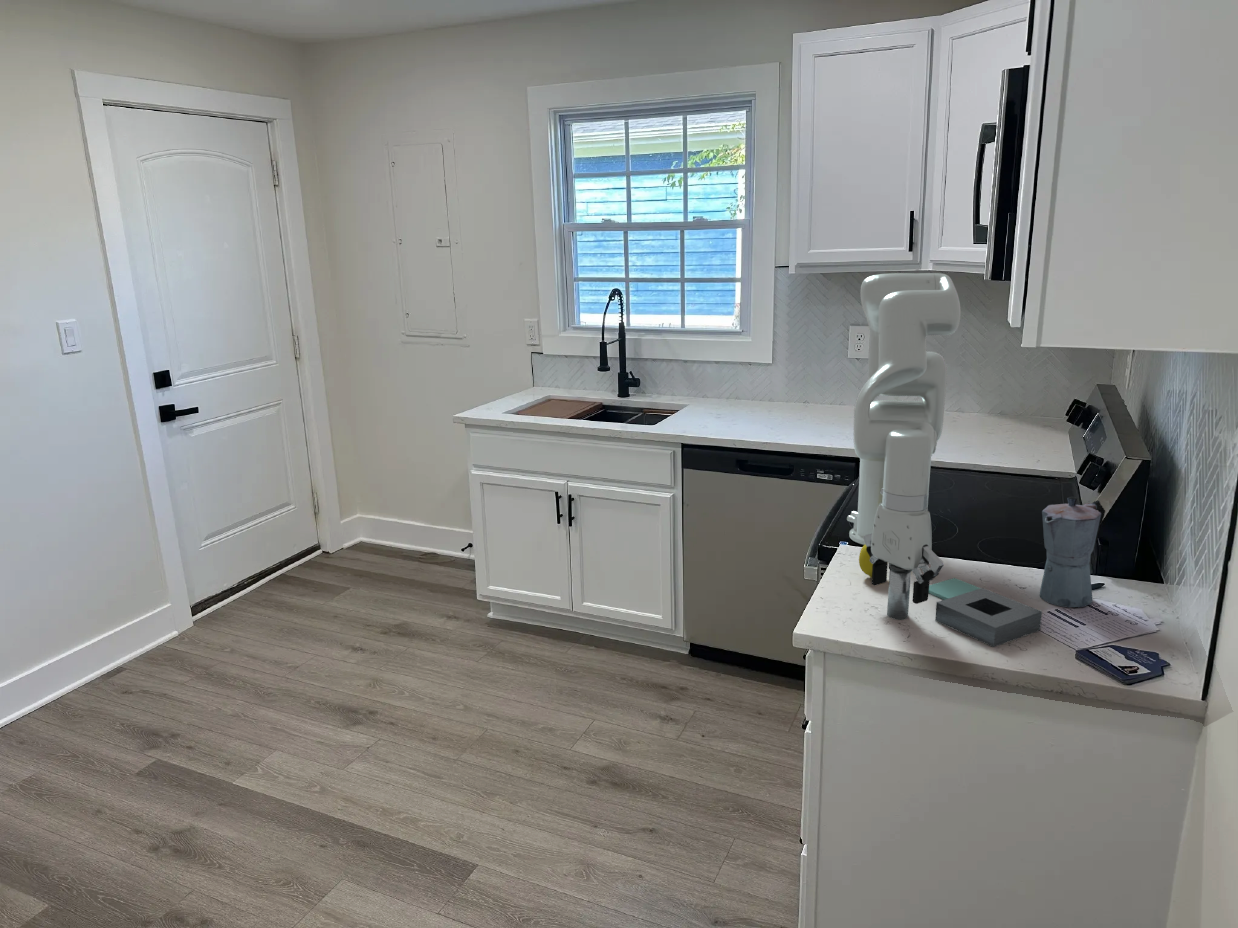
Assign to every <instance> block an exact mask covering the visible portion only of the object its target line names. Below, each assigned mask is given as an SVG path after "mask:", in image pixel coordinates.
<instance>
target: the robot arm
mask: <svg viewBox="0 0 1238 928" xmlns="http://www.w3.org/2000/svg"><path fill="white" fill-rule="evenodd" d="M957 291H958V290H957V289H956V287H955V284H954V282H953V280H952V278H951V276H949V275H948V274H945V273H940V272H939V273H938V272H925V273H924V272H923V273H922V272H921V273H920V272H919V273H913V272H912V273H911V272H910V273H909V272H908V273H906V272H903V273H900V272H897V273H895V272H893V273H880V274H873V275H870V276H868V277H866V278H865V279H863V281H862V283H861V286H860V303H861V307H862V310H863V312H864V317H865V318H866V320H867V324H868V328H869V330H868V331H869V345H868V346H869V348H868V361H867V362H868V363H867V364H868V366H867V381H866V382H865V383H864V384H863V386H862V387H861V389H860V391H859V393H858V395H857V398H856V400H855V404H854V409H853V432H852V433H853V437H852V438H853V449H854V452H855V455H856V456H857V457H858V458H859V461H860V462H859V480H858V481H859V482H858V497H857V498H858V499H857V501H858V502H857V511H856V510H853V511H851V513H850V515H847V517H846V520H847V522H850V523H853V528H851V529H850V530H849V533H848V534H849V538H850V539H851V540H852V541H853V542H855V543H856V544H859V545H862V546H864V545H865V544H866V546H867V548H866V550H867V552H868V554H869V556H870V562H871V563H872V564H873V565H872V578H871V585H873V586H874V587H875V586H879V585H881V584H885V583H887V578H888V567H889V563H890V564H893V565H895V566H898V567H900V568H903V569H906V570H912V571H911V572H912V573H913V575H914V576H915V581H914V582H913V586H912V587H913V589H912V603H914V604H916V605H917V604H922V603H923V602H927V601H928V599H929V595H930V594H929V585H930V581H932V580H934V579H935V578H936V577H938V576H939V574H940V572H941V570H942V569H943V567H944V565H945V563H944V561H943V560H942V559H941V558H940V557H938V555H937V554H936V553H935V552H934V551H933V550H932V546H933V545H932V544H933V543H932V542H933V541H932V539H933V537H932V535H933V534H932V520H931V513H930V511H929V510H928V505H929V495H930V494H929V493H930V492H929V491H930V478H931V476H930V475H931V466H932V465H931V464H932V463H931V462H932V456H933V455H935V453H936V450H937V445H938V442H939V440H940V439H941V437H942V433H943V428H944V427H943V426H944V419H945V418H944V416H945V415H944V414H945V404H946V392H947V384H948V383H947V382H948V381H947V379H948V378H947V377H948V371H947V364H946V360H945V358H944V357H943V356H942V355H941V354H940V353H938V352H935V351H927V336H950V335H953V334H954V333H955V332H956V331H957V330H958V328H959V325H960V321H961V315H962V313H961V311H962V310H961V303H960V298H959V294H958V292H957ZM879 396H887V397H919V398H921V399H922V400H884V399H883V400H882V399H880V400H876V399H877V397H879ZM887 562H888V564H887ZM929 565H930V567H929Z"/></svg>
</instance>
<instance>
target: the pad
mask: <svg viewBox="0 0 1238 928" xmlns="http://www.w3.org/2000/svg"><path fill="white" fill-rule="evenodd" d="M980 588H981V587H978V586H976V585H974V584H971V583H968V582H966V581H964V580H961V579H958V578H956V577H953V578H950V579H946V580H942V581H940V582H936V583H932V584H929V595H932V596H935V597H936V598H939V599H942V600H945V599H949V598H952V597H955V596H958V595H961V594H965V593H968V592H971V591H974V590H977V589H980Z"/></svg>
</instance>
